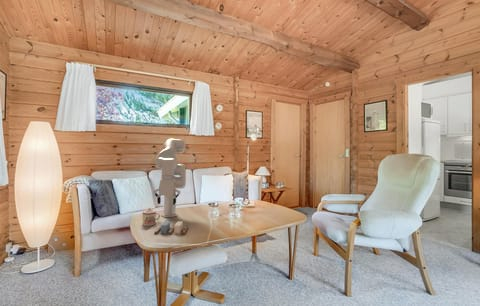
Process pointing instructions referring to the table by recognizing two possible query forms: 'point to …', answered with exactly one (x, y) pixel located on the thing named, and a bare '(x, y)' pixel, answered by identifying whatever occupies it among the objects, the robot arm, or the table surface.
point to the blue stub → (165, 227)
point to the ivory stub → (178, 227)
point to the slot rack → (171, 231)
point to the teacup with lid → (149, 217)
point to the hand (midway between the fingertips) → (166, 204)
